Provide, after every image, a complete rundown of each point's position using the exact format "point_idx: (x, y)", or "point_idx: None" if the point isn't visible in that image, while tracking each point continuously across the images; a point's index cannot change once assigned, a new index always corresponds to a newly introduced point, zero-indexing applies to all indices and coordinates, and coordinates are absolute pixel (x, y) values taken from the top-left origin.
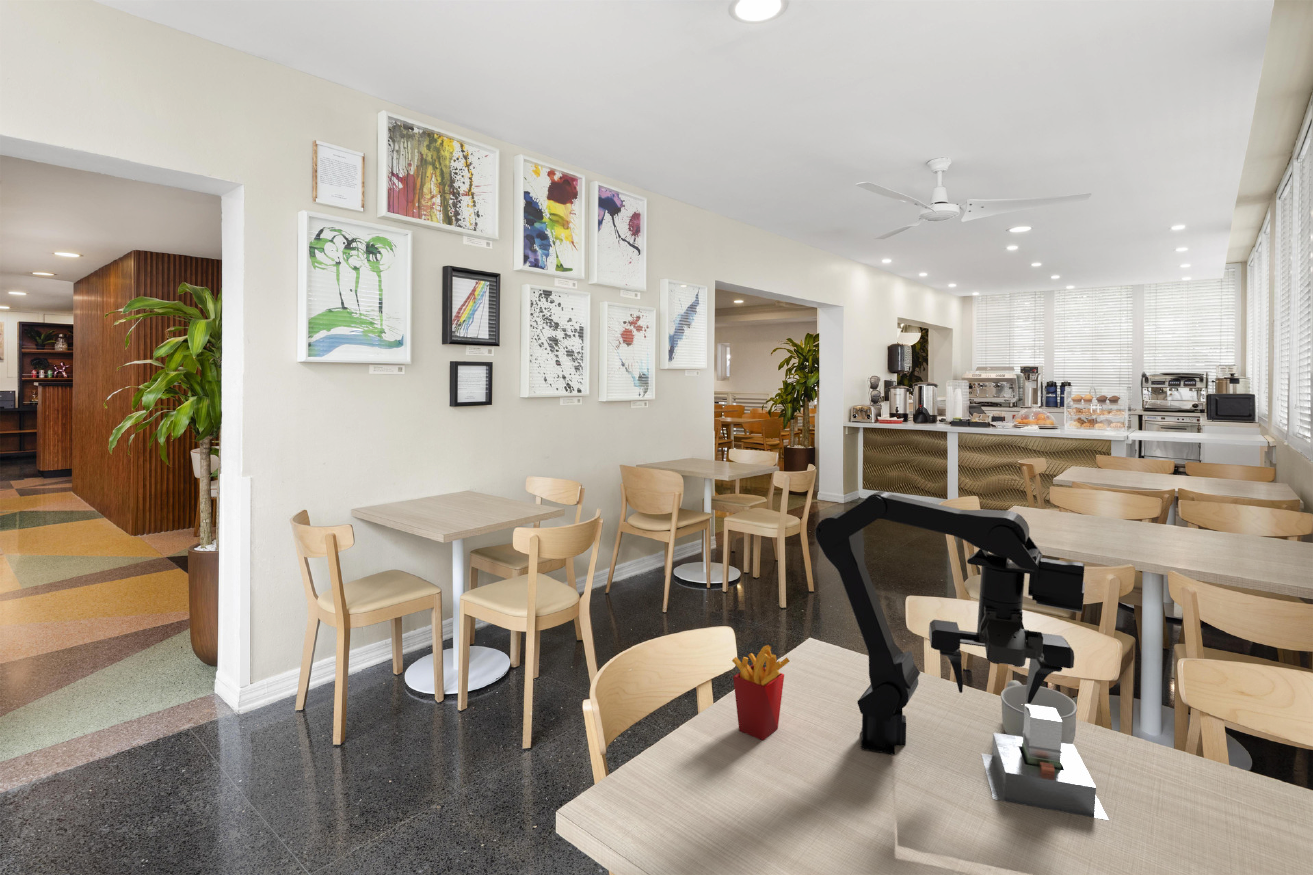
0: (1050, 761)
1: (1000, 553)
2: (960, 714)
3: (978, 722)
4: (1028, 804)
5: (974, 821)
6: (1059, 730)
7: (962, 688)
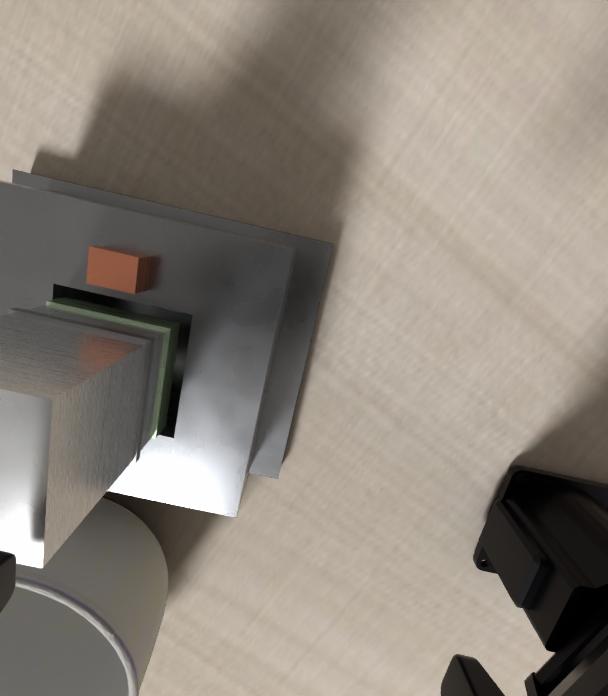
0: (88, 310)
1: None
2: (257, 665)
3: (220, 632)
4: (232, 226)
5: (422, 156)
6: None
7: (473, 689)
